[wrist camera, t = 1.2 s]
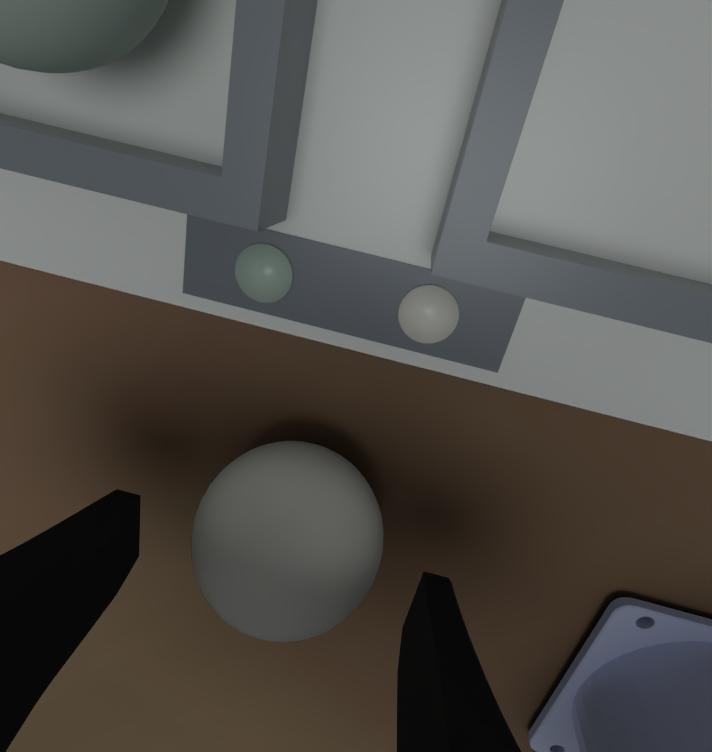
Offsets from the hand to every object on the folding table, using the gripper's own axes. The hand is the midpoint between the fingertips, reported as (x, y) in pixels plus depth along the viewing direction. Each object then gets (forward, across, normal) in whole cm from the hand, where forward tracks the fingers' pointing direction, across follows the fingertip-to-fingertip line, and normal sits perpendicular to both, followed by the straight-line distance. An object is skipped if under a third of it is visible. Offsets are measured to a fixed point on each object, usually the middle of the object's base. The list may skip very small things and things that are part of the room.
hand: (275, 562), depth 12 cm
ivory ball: (+1, 0, 0) cm, 1 cm away
